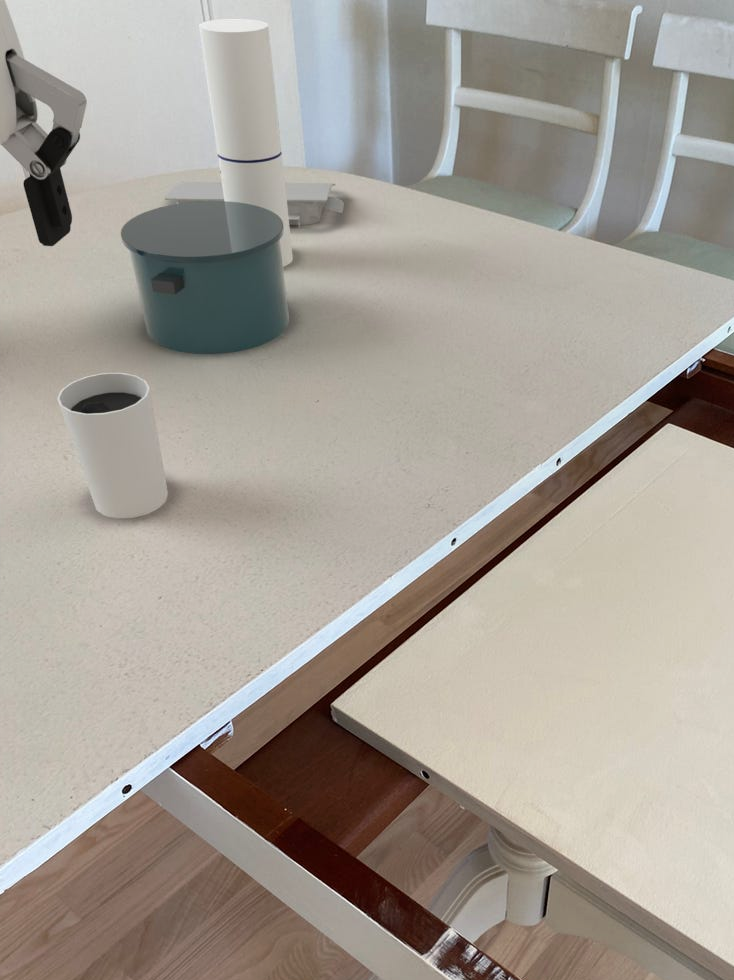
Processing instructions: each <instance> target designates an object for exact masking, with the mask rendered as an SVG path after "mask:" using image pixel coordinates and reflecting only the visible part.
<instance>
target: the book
mask: <svg viewBox="0 0 734 980" xmlns="http://www.w3.org/2000/svg"><path fill="white" fill-rule="evenodd" d="M335 186H336V183H334V182H332V183H331V182H285V189H286V198H287V207H288V217H289V226H298V229H299V230H300V229H301V226H302V225H313V224H315V223H318V222H320V221H321V216H322V211H323V209H325V210H329V211H333V212H337V213H339V214H343V213H344V212H343V211H344V207H345V202H344V201H343V200H342V199H340V198H338V197H334V196H329V195H330V192H331V190H332V188H333V187H335ZM164 200H165V201H177V202H176V203H175V204H180V203H188V202H199V201H224V194H223V187H222V181H181V182H178V183H177V184H175V185H174V186H173V187H172V188H171V189H170V190H169V191H168V192H167V194H166V195H165V197H164Z"/></svg>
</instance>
